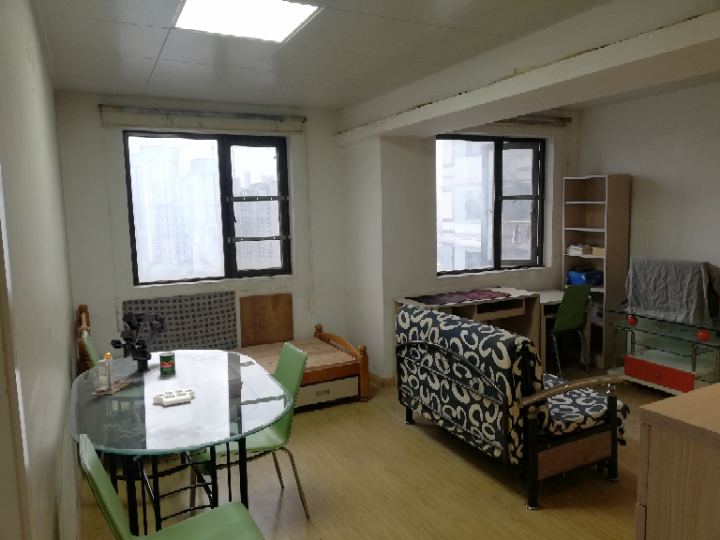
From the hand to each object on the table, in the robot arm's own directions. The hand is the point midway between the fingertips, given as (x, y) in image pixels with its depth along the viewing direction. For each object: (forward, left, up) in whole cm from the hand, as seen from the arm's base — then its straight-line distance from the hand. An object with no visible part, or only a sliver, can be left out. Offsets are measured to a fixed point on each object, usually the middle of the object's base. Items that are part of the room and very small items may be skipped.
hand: (124, 358), depth 272 cm
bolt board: (+10, -8, -12) cm, 18 cm away
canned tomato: (+2, +21, -12) cm, 24 cm away
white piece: (+49, +10, -13) cm, 52 cm away
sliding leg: (+11, -11, -10) cm, 19 cm away
